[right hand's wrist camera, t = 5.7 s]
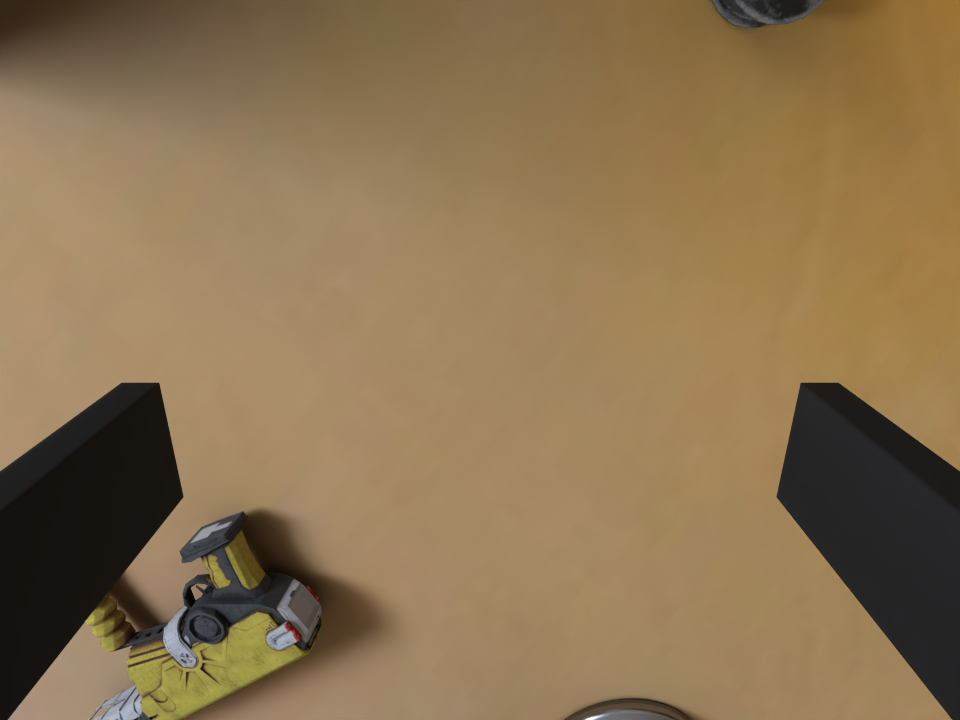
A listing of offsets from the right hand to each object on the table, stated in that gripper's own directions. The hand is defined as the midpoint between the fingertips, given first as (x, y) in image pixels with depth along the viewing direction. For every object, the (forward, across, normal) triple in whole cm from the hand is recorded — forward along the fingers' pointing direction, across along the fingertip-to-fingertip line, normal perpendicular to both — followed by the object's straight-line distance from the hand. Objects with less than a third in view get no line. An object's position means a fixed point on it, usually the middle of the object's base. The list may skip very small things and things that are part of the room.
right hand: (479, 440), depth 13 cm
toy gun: (+28, +26, +31) cm, 49 cm away
